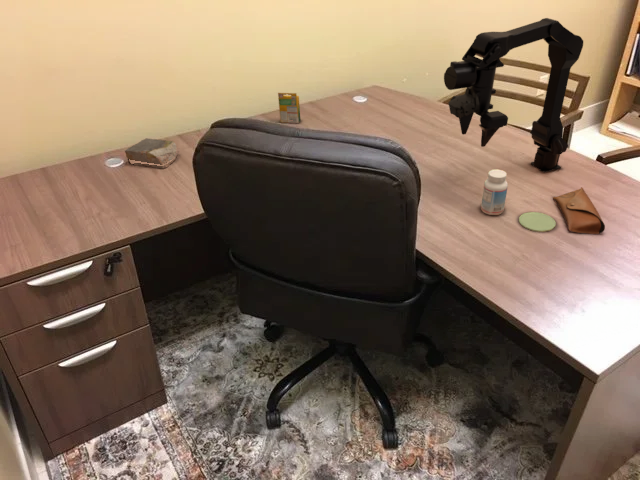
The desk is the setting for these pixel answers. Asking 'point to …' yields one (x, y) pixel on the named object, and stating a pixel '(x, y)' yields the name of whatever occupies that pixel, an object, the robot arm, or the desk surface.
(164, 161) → the geological specimen
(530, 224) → the felt coaster
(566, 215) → the sunglasses case
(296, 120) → the crayon box
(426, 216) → the desk surface
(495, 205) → the pill bottle
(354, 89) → the desk surface
